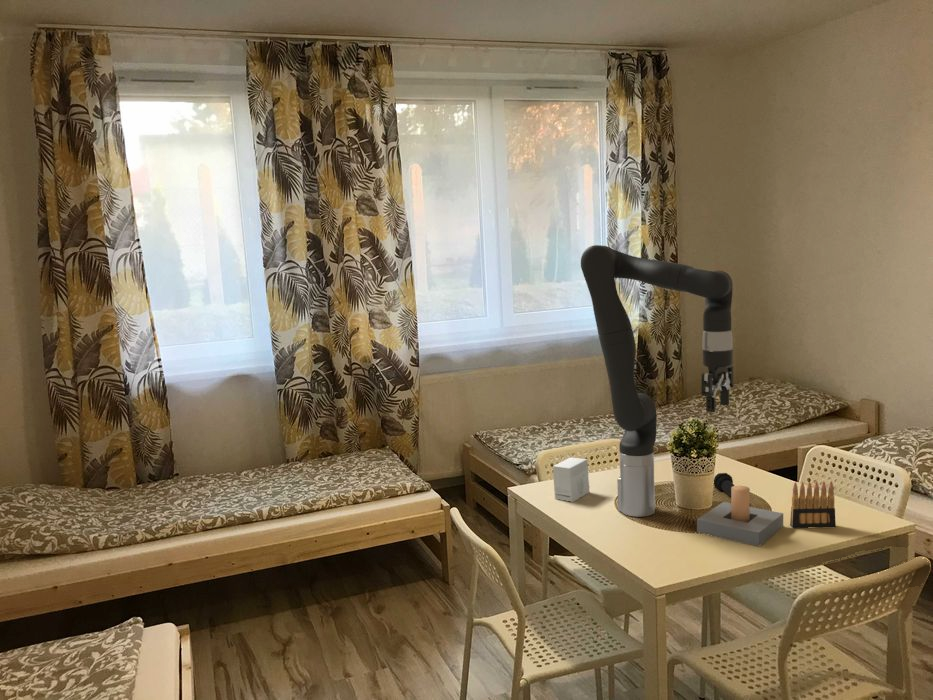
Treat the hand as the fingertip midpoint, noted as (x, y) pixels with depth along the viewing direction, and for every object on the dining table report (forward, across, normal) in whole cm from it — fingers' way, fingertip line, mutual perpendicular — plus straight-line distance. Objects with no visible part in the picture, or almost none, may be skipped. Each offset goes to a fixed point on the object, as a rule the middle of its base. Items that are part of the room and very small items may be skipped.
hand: (717, 408), depth 203 cm
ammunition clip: (+30, -7, +22) cm, 38 cm away
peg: (+30, +5, +8) cm, 32 cm away
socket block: (+30, +5, +8) cm, 32 cm away
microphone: (+31, -17, -4) cm, 35 cm away
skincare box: (+30, +7, -43) cm, 53 cm away
